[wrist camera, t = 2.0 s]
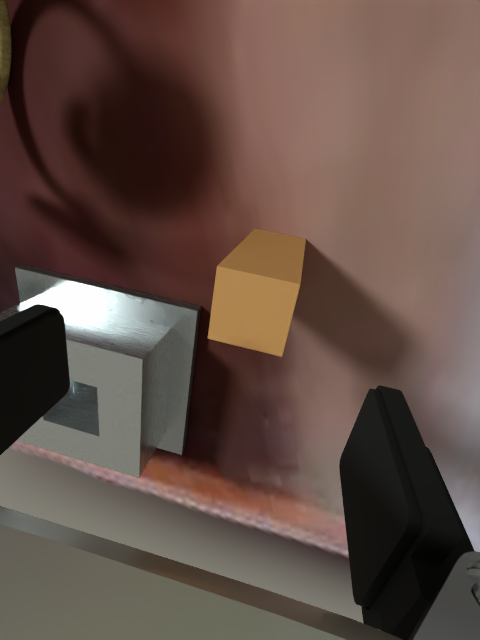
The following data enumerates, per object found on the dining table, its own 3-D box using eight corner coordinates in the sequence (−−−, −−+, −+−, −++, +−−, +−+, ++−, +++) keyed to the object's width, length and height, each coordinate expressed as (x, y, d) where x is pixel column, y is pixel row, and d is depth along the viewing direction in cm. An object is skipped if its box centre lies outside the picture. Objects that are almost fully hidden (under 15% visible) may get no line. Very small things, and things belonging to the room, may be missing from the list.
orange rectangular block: (305, 239, 22) (300, 284, 13) (293, 287, 24) (282, 356, 15) (255, 228, 23) (217, 266, 14) (246, 277, 24) (207, 338, 15)
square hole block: (201, 306, 26) (172, 341, 21) (185, 447, 33) (160, 500, 28) (24, 264, 28) (-44, 286, 23) (44, 406, 35) (-4, 449, 30)
